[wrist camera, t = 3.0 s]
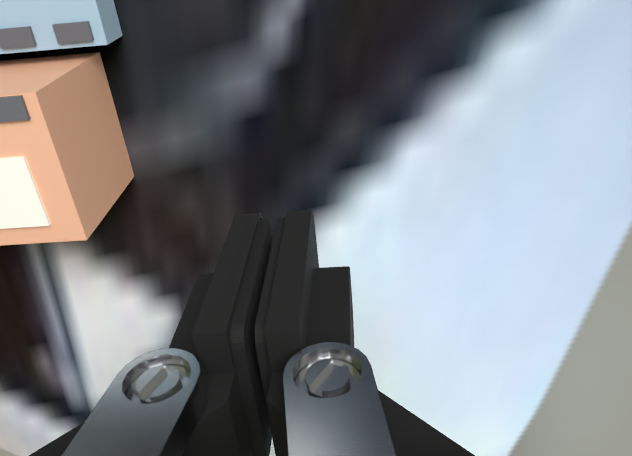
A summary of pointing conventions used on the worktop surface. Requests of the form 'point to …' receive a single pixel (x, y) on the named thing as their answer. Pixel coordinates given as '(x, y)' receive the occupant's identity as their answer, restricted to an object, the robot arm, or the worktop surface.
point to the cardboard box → (58, 149)
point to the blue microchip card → (56, 24)
